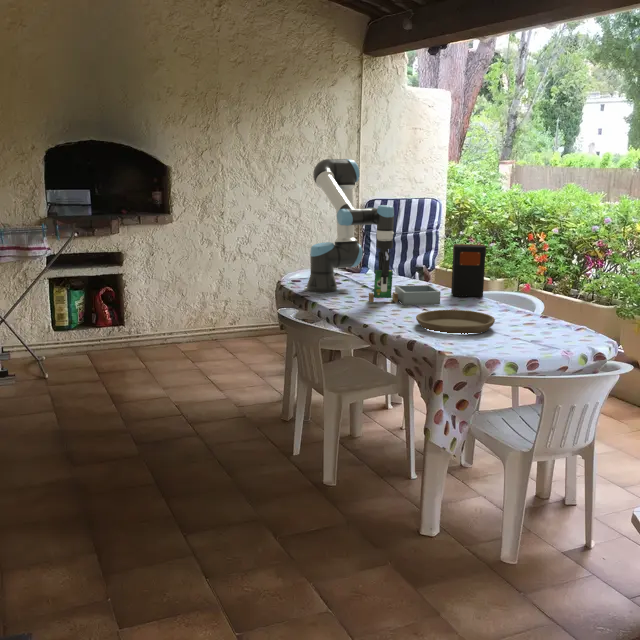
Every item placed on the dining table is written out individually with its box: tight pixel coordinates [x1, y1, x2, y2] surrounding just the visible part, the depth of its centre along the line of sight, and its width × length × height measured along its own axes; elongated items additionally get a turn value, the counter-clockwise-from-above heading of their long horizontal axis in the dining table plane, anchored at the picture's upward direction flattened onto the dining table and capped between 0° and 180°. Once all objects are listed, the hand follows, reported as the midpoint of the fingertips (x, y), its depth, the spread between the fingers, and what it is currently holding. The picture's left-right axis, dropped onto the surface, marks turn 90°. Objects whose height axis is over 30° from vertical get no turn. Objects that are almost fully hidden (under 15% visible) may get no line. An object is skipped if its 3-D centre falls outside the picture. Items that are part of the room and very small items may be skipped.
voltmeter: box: [450, 243, 487, 298], centre depth 353 cm, size 16×9×25 cm, turn 84°
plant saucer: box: [415, 309, 496, 334], centre depth 292 cm, size 31×31×5 cm
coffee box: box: [373, 269, 394, 299], centre depth 340 cm, size 8×3×13 cm, turn 97°
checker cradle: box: [368, 291, 399, 303], centre depth 341 cm, size 4×13×4 cm, turn 98°
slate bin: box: [394, 284, 442, 306], centre depth 342 cm, size 17×17×6 cm
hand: (383, 289), depth 340 cm, fingers closed on coffee box, 3 cm apart
